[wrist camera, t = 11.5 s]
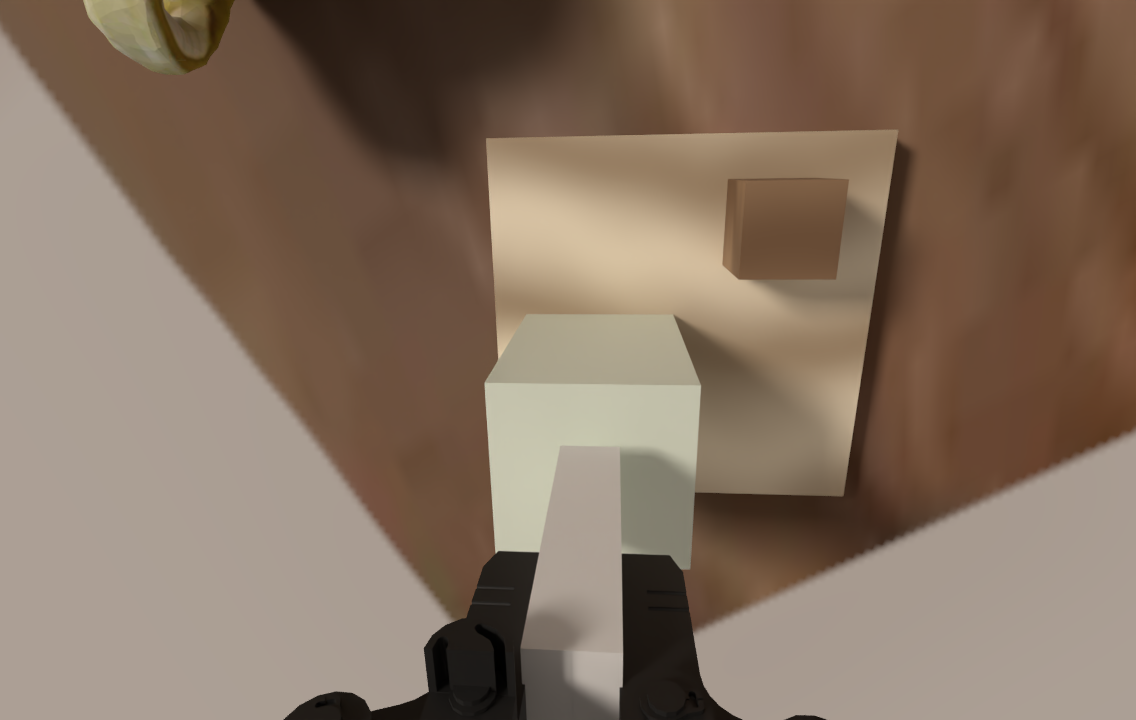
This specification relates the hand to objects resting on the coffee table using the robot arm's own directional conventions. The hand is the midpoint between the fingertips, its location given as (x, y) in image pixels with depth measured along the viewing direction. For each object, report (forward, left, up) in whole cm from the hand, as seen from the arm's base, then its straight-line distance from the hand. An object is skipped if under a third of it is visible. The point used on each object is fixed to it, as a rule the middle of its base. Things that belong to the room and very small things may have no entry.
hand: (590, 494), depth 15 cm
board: (-2, +3, -10) cm, 10 cm away
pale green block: (0, 0, -9) cm, 9 cm away
